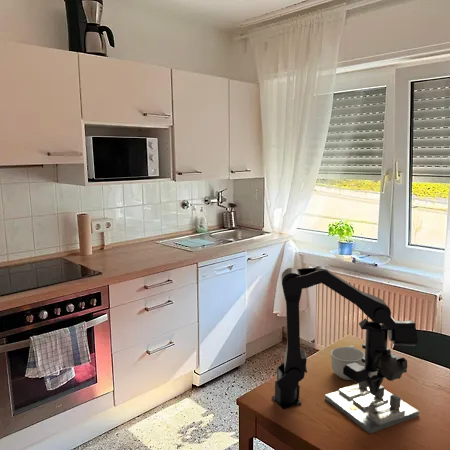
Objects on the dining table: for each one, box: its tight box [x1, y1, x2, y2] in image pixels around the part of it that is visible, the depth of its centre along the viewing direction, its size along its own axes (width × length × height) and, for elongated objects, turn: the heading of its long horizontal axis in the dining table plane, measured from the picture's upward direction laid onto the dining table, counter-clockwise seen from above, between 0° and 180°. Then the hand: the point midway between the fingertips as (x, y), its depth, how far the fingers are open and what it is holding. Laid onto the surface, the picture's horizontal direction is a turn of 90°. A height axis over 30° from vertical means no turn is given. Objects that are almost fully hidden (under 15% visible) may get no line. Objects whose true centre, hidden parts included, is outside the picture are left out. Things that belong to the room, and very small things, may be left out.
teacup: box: [330, 345, 365, 381], centre depth 139 cm, size 14×11×8 cm
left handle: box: [359, 381, 368, 388], centre depth 127 cm, size 2×2×3 cm
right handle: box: [390, 393, 402, 409], centre depth 116 cm, size 2×2×3 cm
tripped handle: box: [375, 384, 385, 398], centre depth 121 cm, size 2×2×3 cm
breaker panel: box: [324, 382, 420, 434], centre depth 120 cm, size 18×18×3 cm
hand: (373, 395), depth 120 cm, fingers closed
